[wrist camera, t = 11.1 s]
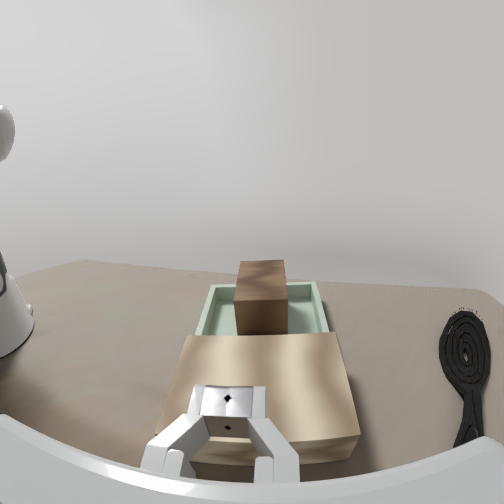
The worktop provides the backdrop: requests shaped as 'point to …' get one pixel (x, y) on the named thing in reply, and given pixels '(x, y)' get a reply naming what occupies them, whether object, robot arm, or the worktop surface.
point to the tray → (299, 310)
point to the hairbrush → (466, 368)
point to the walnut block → (261, 298)
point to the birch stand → (272, 392)
